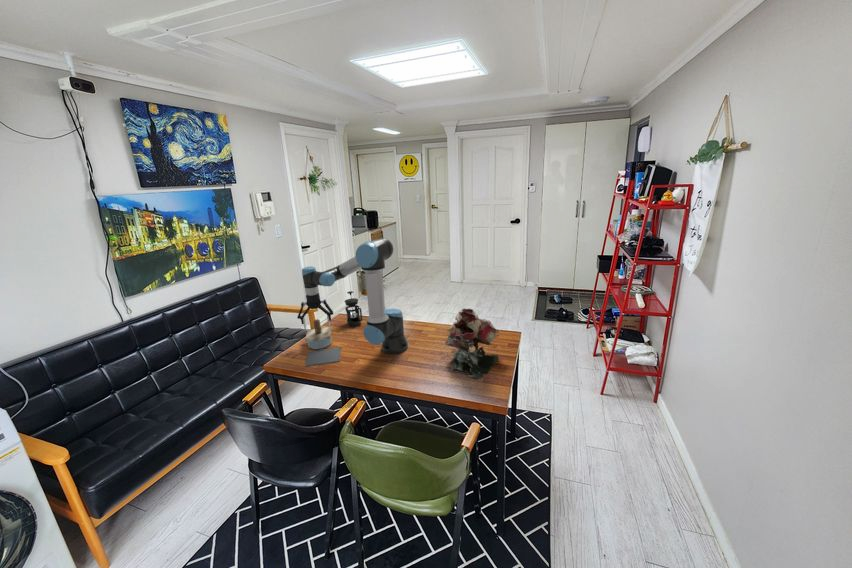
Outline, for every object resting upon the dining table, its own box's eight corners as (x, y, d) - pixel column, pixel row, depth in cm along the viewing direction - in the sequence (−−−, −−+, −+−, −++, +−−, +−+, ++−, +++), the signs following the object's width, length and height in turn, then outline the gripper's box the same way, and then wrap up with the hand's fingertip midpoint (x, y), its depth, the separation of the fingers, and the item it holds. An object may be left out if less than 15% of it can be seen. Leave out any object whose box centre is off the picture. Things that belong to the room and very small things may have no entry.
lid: (331, 328, 219) (329, 314, 217) (330, 338, 206) (328, 323, 203) (307, 332, 217) (305, 317, 214) (305, 342, 204) (302, 326, 201)
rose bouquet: (502, 354, 191) (503, 302, 182) (482, 382, 167) (482, 323, 158) (459, 344, 204) (458, 295, 194) (434, 369, 180) (431, 314, 171)
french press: (343, 325, 238) (339, 293, 231) (351, 320, 246) (347, 289, 239) (358, 327, 233) (354, 294, 226) (366, 322, 242) (362, 290, 235)
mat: (340, 348, 207) (340, 347, 207) (339, 361, 192) (339, 360, 192) (308, 352, 204) (308, 351, 204) (305, 366, 189) (305, 365, 189)
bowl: (331, 338, 221) (330, 329, 219) (330, 347, 209) (329, 338, 207) (310, 341, 218) (308, 332, 216) (308, 350, 206) (306, 341, 204)
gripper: (334, 289, 209) (339, 322, 216) (290, 293, 205) (296, 327, 211) (334, 293, 202) (338, 327, 209) (288, 298, 198) (294, 332, 204)
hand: (317, 327), depth 210 cm, fingers open, 13 cm apart
